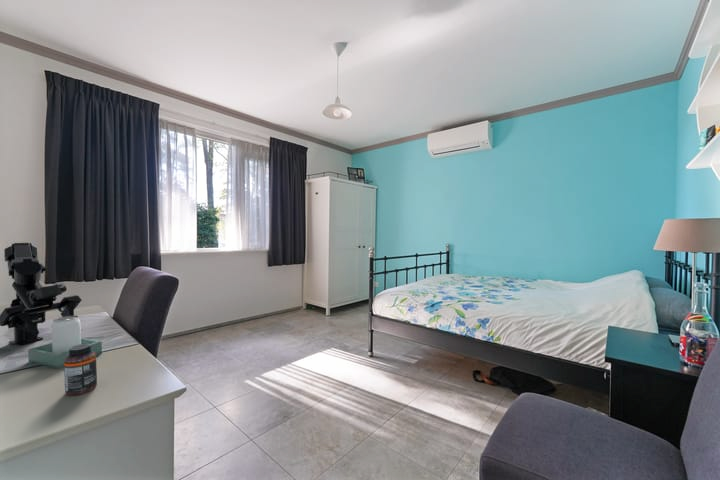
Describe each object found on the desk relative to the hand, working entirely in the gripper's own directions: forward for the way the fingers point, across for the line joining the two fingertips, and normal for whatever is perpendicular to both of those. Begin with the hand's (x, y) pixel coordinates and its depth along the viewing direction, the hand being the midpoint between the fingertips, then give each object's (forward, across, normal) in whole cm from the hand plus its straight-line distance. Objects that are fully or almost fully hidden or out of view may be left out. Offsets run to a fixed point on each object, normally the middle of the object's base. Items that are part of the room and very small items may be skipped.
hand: (56, 329), depth 96 cm
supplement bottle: (+28, -13, -16) cm, 34 cm away
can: (+10, -1, +2) cm, 10 cm away
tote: (+9, 0, +3) cm, 10 cm away
